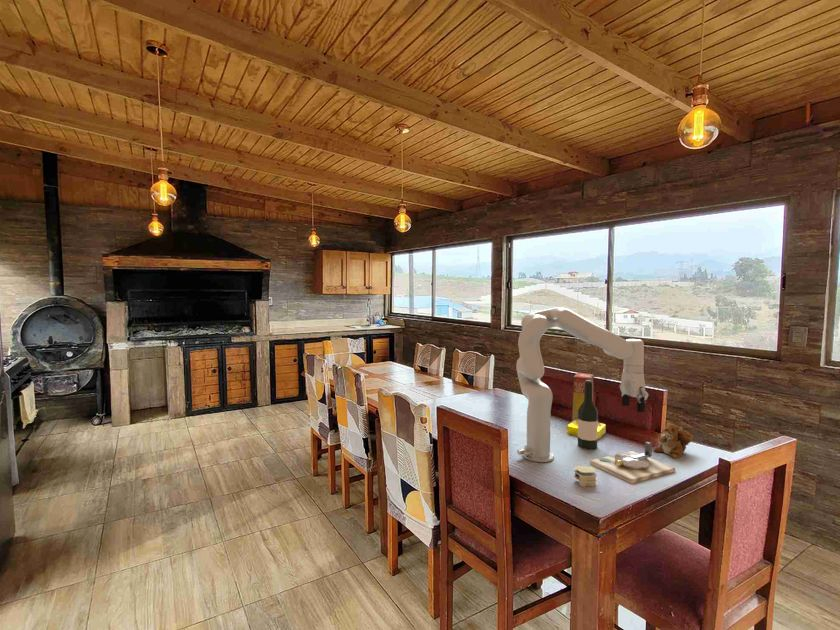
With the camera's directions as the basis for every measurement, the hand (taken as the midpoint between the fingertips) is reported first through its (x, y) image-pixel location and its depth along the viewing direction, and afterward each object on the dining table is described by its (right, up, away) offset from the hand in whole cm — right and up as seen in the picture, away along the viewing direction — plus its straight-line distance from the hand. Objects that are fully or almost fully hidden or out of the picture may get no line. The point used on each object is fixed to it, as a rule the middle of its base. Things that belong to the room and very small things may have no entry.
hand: (633, 408), depth 173 cm
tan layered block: (-30, -22, -25) cm, 45 cm away
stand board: (-7, -21, -12) cm, 25 cm away
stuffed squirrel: (+19, -20, +3) cm, 28 cm away
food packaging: (-2, -18, +48) cm, 52 cm away
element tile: (-8, -19, +29) cm, 36 cm away
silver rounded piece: (-5, -19, -11) cm, 23 cm away
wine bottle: (-15, -20, +11) cm, 27 cm away
